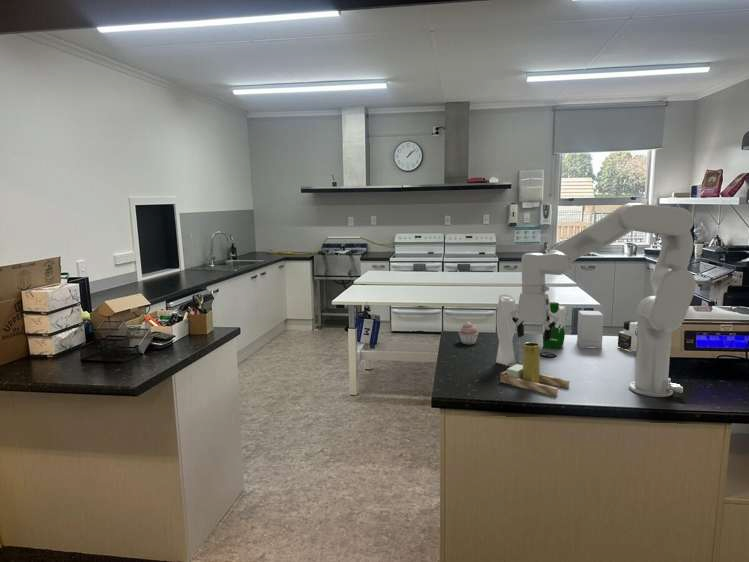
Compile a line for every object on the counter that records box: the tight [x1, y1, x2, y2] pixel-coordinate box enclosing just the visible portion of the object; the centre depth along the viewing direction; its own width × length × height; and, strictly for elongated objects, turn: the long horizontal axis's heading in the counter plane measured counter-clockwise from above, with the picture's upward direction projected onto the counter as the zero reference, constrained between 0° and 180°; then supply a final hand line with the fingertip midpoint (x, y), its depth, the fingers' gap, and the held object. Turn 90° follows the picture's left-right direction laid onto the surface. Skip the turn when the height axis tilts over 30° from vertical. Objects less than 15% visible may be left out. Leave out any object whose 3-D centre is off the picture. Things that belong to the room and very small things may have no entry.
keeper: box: [506, 364, 523, 379], centre depth 173 cm, size 4×7×4 cm, turn 136°
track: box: [499, 369, 571, 397], centre depth 168 cm, size 20×10×3 cm, turn 46°
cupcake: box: [458, 321, 480, 345], centre depth 222 cm, size 9×9×10 cm
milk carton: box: [542, 301, 567, 351], centre depth 212 cm, size 9×9×20 cm
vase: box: [522, 341, 541, 384], centre depth 168 cm, size 6×6×14 cm
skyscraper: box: [495, 294, 522, 368], centre depth 190 cm, size 8×8×28 cm
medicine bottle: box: [617, 320, 638, 352], centre depth 208 cm, size 7×7×12 cm
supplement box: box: [576, 310, 604, 349], centre depth 213 cm, size 9×9×15 cm
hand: (533, 338), depth 167 cm, fingers open, 9 cm apart
